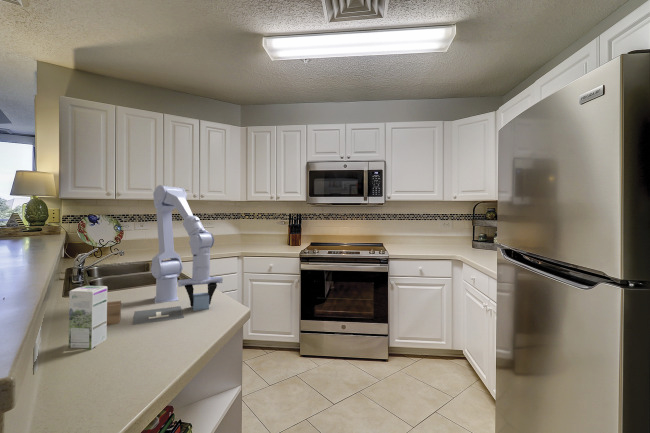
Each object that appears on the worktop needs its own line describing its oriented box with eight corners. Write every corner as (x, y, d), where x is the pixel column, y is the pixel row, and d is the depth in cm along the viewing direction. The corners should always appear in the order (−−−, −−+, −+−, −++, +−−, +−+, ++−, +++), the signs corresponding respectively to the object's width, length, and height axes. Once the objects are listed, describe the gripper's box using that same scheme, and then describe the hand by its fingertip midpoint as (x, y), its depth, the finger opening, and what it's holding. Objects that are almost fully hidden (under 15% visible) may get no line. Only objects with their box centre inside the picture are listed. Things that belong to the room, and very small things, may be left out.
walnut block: (101, 322, 93) (101, 302, 93) (120, 319, 95) (121, 300, 95) (98, 327, 88) (99, 307, 88) (119, 324, 91) (119, 304, 91)
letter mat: (134, 312, 102) (134, 311, 102) (180, 307, 109) (180, 306, 109) (132, 326, 90) (132, 324, 90) (184, 319, 97) (184, 317, 97)
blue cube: (191, 307, 109) (192, 293, 109) (206, 306, 111) (207, 292, 111) (193, 311, 104) (193, 297, 104) (208, 309, 107) (209, 295, 107)
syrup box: (107, 340, 80) (108, 285, 80) (91, 350, 74) (92, 290, 74) (85, 340, 80) (86, 284, 80) (66, 349, 74) (68, 290, 74)
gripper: (179, 269, 100) (178, 310, 100) (224, 267, 108) (223, 305, 108) (178, 266, 107) (177, 305, 107) (220, 264, 114) (219, 300, 114)
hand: (200, 304), depth 108 cm, fingers closed on blue cube, 5 cm apart
